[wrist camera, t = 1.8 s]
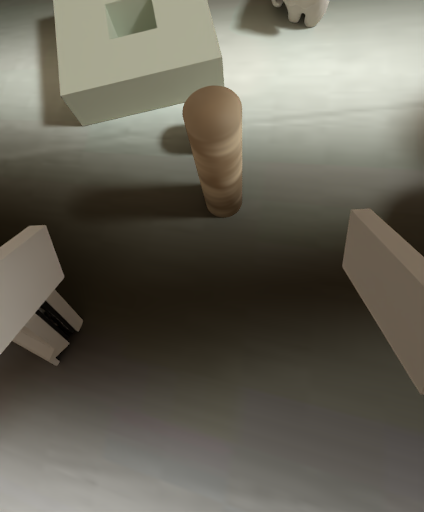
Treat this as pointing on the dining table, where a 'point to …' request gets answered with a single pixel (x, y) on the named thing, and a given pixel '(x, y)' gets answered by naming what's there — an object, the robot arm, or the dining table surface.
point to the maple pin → (216, 146)
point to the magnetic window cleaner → (49, 328)
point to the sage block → (133, 55)
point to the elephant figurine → (304, 10)
